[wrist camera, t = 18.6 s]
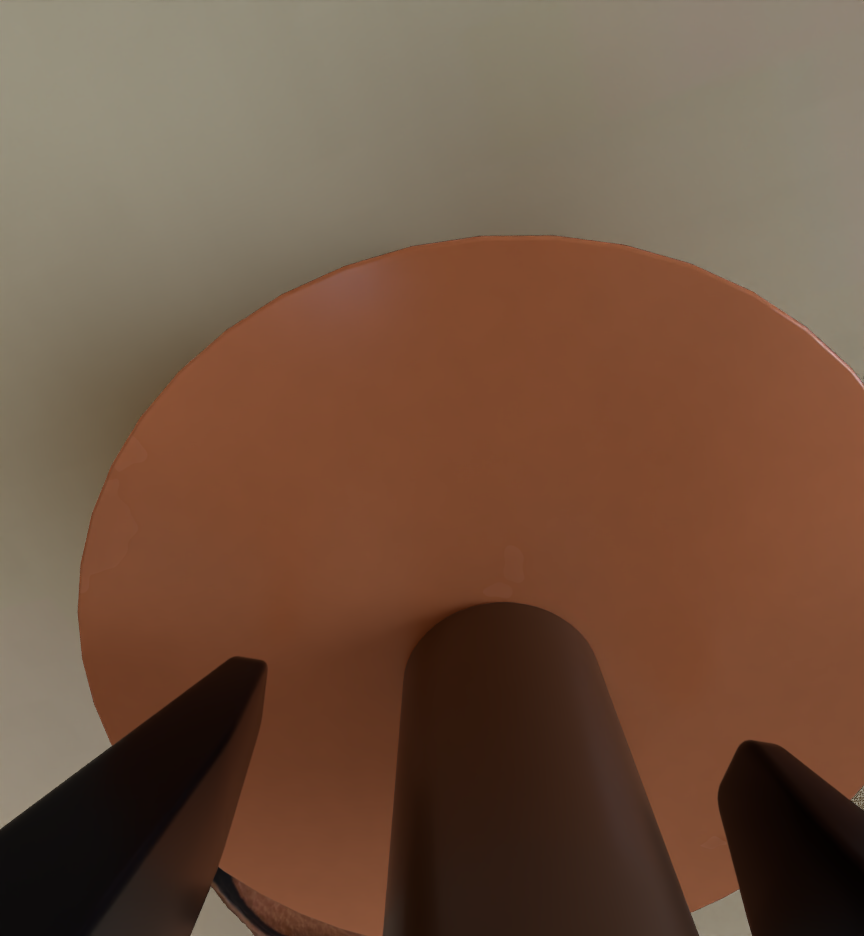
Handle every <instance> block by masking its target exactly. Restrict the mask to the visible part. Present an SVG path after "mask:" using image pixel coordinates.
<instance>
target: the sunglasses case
mask: <svg viewBox="0 0 864 936" xmlns="http://www.w3.org/2000/svg"><path fill="white" fill-rule="evenodd" d="M211 887H212V888H213V889H214V890H215V892H216V893H217V894H218V896H219V897H220V898H221V900H222V901H223V903H224V904H226V906H227V908H228V909H229V910H231V911H232V912H233V913H234V914H235V915H236V916H237V917H238V918H239V919H240V921H241V922H242V923H244V924H246V926H247V927H248V928H249V929H250V930H251V932H252V933H253V934H254V936H365V935H362V934H358V933H354V932H351V931H347V930H344V929H340V928H337V927H335V926H332V925H329V924H327V923H324V922H321V921H319V920H316V919H313V918H311V917H308V916H305V915H303V914H300V913H298V912H296V911H294V910H292V909H290V908H288V907H286V906H284V905H282V904H280V903H278V902H276V901H273V900H271V899H269V898H267V897H265V896H263V895H261V894H260V893H258V892H256V891H255V890H253V889H252V888H250V887H248V886H247V885H245V884H244V883H242V882H240V881H239V880H237V879H236V878H234V877H232V876H231V875H229V874H228V873H226V872H224V871H223V870H222V869H221V868H219V867H218V869H217V871H216V874H215V876H214V879H213V882H212V884H211Z"/></svg>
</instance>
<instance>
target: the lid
mask: <svg viewBox="0 0 864 936" xmlns="http://www.w3.org/2000/svg"><path fill="white" fill-rule="evenodd" d="M78 621H79V631H80V641H81V651H82V660H83V664H84V668H85V671H86V675H87V679H88V683H89V687H90V691H91V695H92V698H93V702H94V705H95V707H96V710H97V712H98V714H99V717H100V719H101V721H102V724H103V726H104V728H105V731H106V733H107V736H108V738H109V740H110V743H111V745H112V746H113V745H114V744H115V743H117V742H118V741H119V740H121V739H122V738H123V737H125V736H126V735H127V734H129V733H130V732H131V731H133V730H134V729H135V728H137V727H138V726H139V725H141V724H142V723H143V722H145V721H146V720H147V719H149V718H150V717H151V716H153V715H154V714H155V713H157V712H158V711H159V710H161V709H162V708H163V707H165V706H166V705H167V704H169V703H170V702H171V701H173V700H174V699H176V698H177V697H178V696H180V695H181V694H182V693H184V692H185V691H186V690H188V689H189V688H190V687H192V686H193V685H194V684H196V683H197V682H198V681H200V680H201V679H202V678H204V677H205V676H206V675H208V674H209V673H210V672H212V671H213V670H214V669H216V668H217V667H218V666H220V665H221V664H222V663H224V662H225V661H226V660H228V659H229V658H231V657H234V656H241V657H248V658H254V659H260V660H264V661H265V662H266V663H267V666H268V672H267V681H266V690H265V698H264V706H263V715H262V721H261V726H260V730H259V734H258V737H257V741H256V744H255V747H254V751H253V754H252V757H251V761H250V764H249V767H248V771H247V774H246V778H245V781H244V784H243V788H242V791H241V794H240V798H239V801H238V804H237V808H236V811H235V815H234V818H233V821H232V825H231V828H230V831H229V835H228V838H227V841H226V845H225V848H224V851H223V854H222V857H221V860H220V863H219V866H218V867H219V868H221V869H222V870H223V871H224V872H226V873H228V874H229V875H231V876H232V877H234V878H236V879H237V880H239V881H240V882H242V883H244V884H245V885H247V886H248V887H250V888H252V889H253V890H255V891H256V892H258V893H260V894H261V895H263V896H265V897H267V898H269V899H271V900H273V901H276V902H278V903H280V904H282V905H284V906H286V907H288V908H290V909H292V910H294V911H296V912H298V913H300V914H303V915H305V916H308V917H311V918H313V919H316V920H319V921H321V922H324V923H327V924H329V925H332V926H335V927H337V928H340V929H344V930H347V931H351V932H354V933H358V934H362V935H365V936H699V934H698V932H697V929H696V926H695V924H694V921H693V918H692V916H691V912H694V911H696V910H698V909H700V908H702V907H704V906H707V905H709V904H711V903H713V902H715V901H718V900H720V899H722V898H724V897H726V896H728V895H730V894H731V893H733V892H735V891H737V890H738V889H739V885H738V881H737V877H736V874H735V870H734V866H733V862H732V858H731V855H730V851H729V847H728V843H727V839H726V835H725V832H724V828H723V824H722V820H721V816H720V812H719V808H718V800H717V797H718V789H719V785H720V783H721V781H722V779H723V777H724V775H725V772H726V770H727V768H728V766H729V764H730V762H731V760H732V758H733V756H734V754H735V752H736V750H737V748H738V746H739V745H740V744H741V743H742V742H743V741H745V740H756V741H762V742H768V743H774V744H777V745H779V746H781V747H783V748H784V749H786V750H787V751H788V752H789V753H791V754H792V755H793V756H795V757H796V758H797V759H798V760H800V761H801V762H802V763H803V764H805V765H806V766H807V767H809V768H810V769H811V770H812V771H814V772H815V773H816V774H817V775H819V776H820V777H821V778H823V779H824V780H825V781H826V782H828V783H829V784H830V785H831V786H833V787H834V788H835V789H837V790H838V791H839V792H840V793H842V794H843V795H844V796H845V797H847V798H848V799H849V800H851V799H852V798H853V797H854V796H855V795H856V793H857V792H858V791H859V790H860V789H861V788H862V787H863V786H864V384H863V382H862V381H861V380H860V379H859V377H858V376H857V375H856V373H855V372H854V371H853V370H852V368H851V367H850V366H849V365H847V364H846V363H845V362H844V361H843V360H842V359H841V358H840V357H839V356H838V355H837V354H835V353H834V352H833V351H832V350H831V349H830V348H829V347H828V346H827V345H826V344H825V343H823V342H822V341H821V340H820V339H819V338H818V337H817V336H816V335H815V334H814V333H813V332H811V331H810V330H809V329H808V328H807V327H806V326H804V325H803V324H801V323H800V322H798V321H797V320H795V319H794V318H792V317H791V316H789V315H788V314H786V313H785V312H783V311H781V310H780V309H778V308H777V307H775V306H774V305H772V304H771V303H769V302H768V301H766V300H765V299H763V298H762V297H760V296H759V295H757V294H756V293H754V292H752V291H750V290H748V289H746V288H744V287H741V286H739V285H737V284H735V283H733V282H730V281H728V280H726V279H724V278H722V277H719V276H717V275H715V274H713V273H711V272H708V271H706V270H704V269H702V268H700V267H697V266H695V265H693V264H690V263H687V262H683V261H680V260H676V259H673V258H669V257H666V256H662V255H659V254H655V253H652V252H648V251H645V250H641V249H638V248H634V247H631V246H627V245H622V244H615V243H607V242H600V241H592V240H585V239H578V238H570V237H563V236H555V235H527V236H475V237H469V238H462V239H455V240H448V241H442V242H435V243H428V244H421V245H415V246H410V247H407V248H404V249H400V250H397V251H393V252H390V253H387V254H383V255H380V256H376V257H373V258H370V259H366V260H363V261H359V262H356V263H353V264H349V265H346V266H343V267H341V268H339V269H337V270H334V271H332V272H330V273H328V274H326V275H323V276H321V277H319V278H317V279H315V280H312V281H310V282H308V283H306V284H304V285H301V286H299V287H297V288H295V289H293V290H290V291H288V292H286V293H284V294H282V295H280V296H278V297H277V298H275V299H274V300H272V301H271V302H269V303H267V304H266V305H264V306H263V307H261V308H260V309H258V310H257V311H255V312H253V313H252V314H250V315H249V316H247V317H246V318H244V319H243V320H241V321H239V322H238V323H236V324H235V325H233V326H232V327H230V328H229V329H227V330H226V331H224V332H223V333H222V334H221V335H220V336H219V337H218V338H216V339H215V340H214V341H213V342H212V343H211V344H210V345H208V346H207V347H206V348H205V349H204V350H203V351H202V352H200V353H199V354H198V355H197V356H196V357H195V358H194V359H192V360H191V361H190V362H189V363H188V364H187V365H186V366H184V367H183V368H182V369H181V370H180V371H179V372H178V373H177V374H176V375H175V377H174V378H173V379H172V380H171V381H170V382H169V384H168V385H167V386H166V387H165V388H164V390H163V391H162V392H161V393H160V394H159V395H158V397H157V398H156V399H155V400H154V401H153V403H152V404H151V405H150V406H149V407H148V409H147V410H146V411H145V412H144V413H143V414H142V416H141V417H140V419H139V420H138V422H137V424H136V425H135V427H134V429H133V430H132V432H131V434H130V435H129V437H128V438H127V440H126V442H125V443H124V445H123V447H122V448H121V450H120V452H119V453H118V455H117V457H116V458H115V460H114V462H113V463H112V465H111V468H110V470H109V473H108V475H107V478H106V480H105V483H104V485H103V487H102V490H101V492H100V495H99V497H98V500H97V502H96V505H95V507H94V510H93V512H92V516H91V520H90V525H89V529H88V533H87V538H86V542H85V547H84V551H83V556H82V560H81V565H80V582H79V599H78Z"/></svg>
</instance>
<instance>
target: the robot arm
mask: <svg viewBox="0 0 864 936" xmlns="http://www.w3.org/2000/svg"><path fill="white" fill-rule="evenodd" d="M267 672H268V666H267V663H266V662H265V661H264V660H260V659H254V658H248V657H241V656H234V657H231V658H229V659H228V660H226V661H225V662H224V663H222V664H221V665H220V666H218V667H217V668H216V669H214V670H213V671H212V672H210V673H209V674H208V675H206V676H205V677H204V678H202V679H201V680H200V681H198V682H197V683H196V684H194V685H193V686H192V687H190V688H189V689H188V690H186V691H185V692H184V693H182V694H181V695H180V696H178V697H177V698H176V699H174V700H173V701H171V702H170V703H169V704H167V705H166V706H165V707H163V708H162V709H161V710H159V711H158V712H157V713H155V714H154V715H153V716H151V717H150V718H149V719H147V720H146V721H145V722H143V723H142V724H141V725H139V726H138V727H137V728H135V729H134V730H133V731H131V732H130V733H129V734H127V735H126V736H125V737H123V738H122V739H121V740H119V741H118V742H117V743H115V744H114V745H113V746H111V747H110V748H108V749H107V750H106V751H104V752H103V753H102V754H100V755H99V756H98V757H96V758H95V759H94V760H92V761H91V762H90V763H88V764H87V765H86V766H84V767H83V768H82V769H80V770H79V771H78V772H76V773H75V774H74V775H72V776H71V777H70V778H68V779H67V780H66V781H64V782H63V783H62V784H60V785H59V786H58V787H56V788H55V789H54V790H52V791H51V792H49V793H48V794H47V795H45V796H44V797H43V798H41V799H40V800H39V801H37V802H36V803H35V804H33V805H32V806H31V807H29V808H28V809H27V810H25V811H24V812H23V813H21V814H20V815H19V816H17V817H16V818H15V819H13V820H12V821H11V822H9V823H8V824H7V825H5V826H4V827H3V828H1V829H0V936H190V935H191V933H192V930H193V928H194V926H195V923H196V921H197V918H198V916H199V914H200V911H201V909H202V906H203V904H204V902H205V899H206V897H207V894H208V892H209V889H210V887H211V884H212V882H213V879H214V876H215V874H216V871H217V869H218V866H219V863H220V860H221V857H222V854H223V851H224V848H225V845H226V841H227V838H228V835H229V831H230V828H231V825H232V821H233V818H234V815H235V811H236V808H237V804H238V801H239V798H240V794H241V791H242V788H243V784H244V781H245V778H246V774H247V771H248V767H249V764H250V761H251V757H252V754H253V751H254V747H255V744H256V741H257V737H258V734H259V730H260V726H261V721H262V715H263V706H264V698H265V690H266V681H267ZM717 800H718V808H719V812H720V816H721V820H722V824H723V828H724V832H725V835H726V839H727V843H728V847H729V851H730V855H731V858H732V862H733V866H734V870H735V874H736V877H737V881H738V885H739V889H740V893H741V897H742V900H743V904H744V908H745V912H746V916H747V919H748V923H749V926H750V930H751V933H752V936H864V811H863V810H862V809H861V808H859V807H858V806H857V805H856V804H854V803H853V802H852V801H851V800H849V799H848V798H847V797H845V796H844V795H843V794H842V793H840V792H839V791H838V790H837V789H835V788H834V787H833V786H831V785H830V784H829V783H828V782H826V781H825V780H824V779H823V778H821V777H820V776H819V775H817V774H816V773H815V772H814V771H812V770H811V769H810V768H809V767H807V766H806V765H805V764H803V763H802V762H801V761H800V760H798V759H797V758H796V757H795V756H793V755H792V754H791V753H789V752H788V751H787V750H786V749H784V748H783V747H781V746H779V745H777V744H774V743H768V742H762V741H756V740H745V741H743V742H742V743H741V744H740V745H739V746H738V748H737V750H736V752H735V754H734V756H733V758H732V760H731V762H730V764H729V766H728V768H727V770H726V772H725V775H724V777H723V779H722V781H721V783H720V785H719V789H718V797H717Z"/></svg>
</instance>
